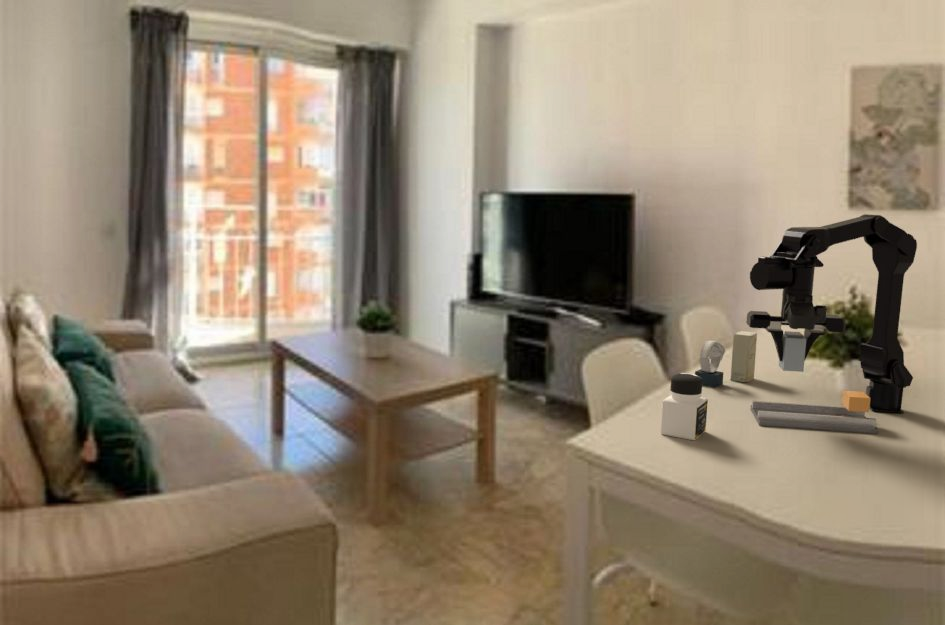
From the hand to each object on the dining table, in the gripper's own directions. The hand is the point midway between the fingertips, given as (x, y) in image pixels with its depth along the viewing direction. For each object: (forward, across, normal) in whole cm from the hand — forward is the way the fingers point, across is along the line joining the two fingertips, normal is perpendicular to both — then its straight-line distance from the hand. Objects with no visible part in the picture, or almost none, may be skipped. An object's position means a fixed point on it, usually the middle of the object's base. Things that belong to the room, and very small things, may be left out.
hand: (791, 361), depth 168 cm
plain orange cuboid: (+9, +14, 0) cm, 16 cm away
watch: (+13, -14, +27) cm, 33 cm away
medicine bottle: (+13, -22, -15) cm, 30 cm away
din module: (+2, 0, 0) cm, 2 cm away
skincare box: (+13, -5, +34) cm, 37 cm away
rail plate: (+13, +5, 0) cm, 14 cm away
